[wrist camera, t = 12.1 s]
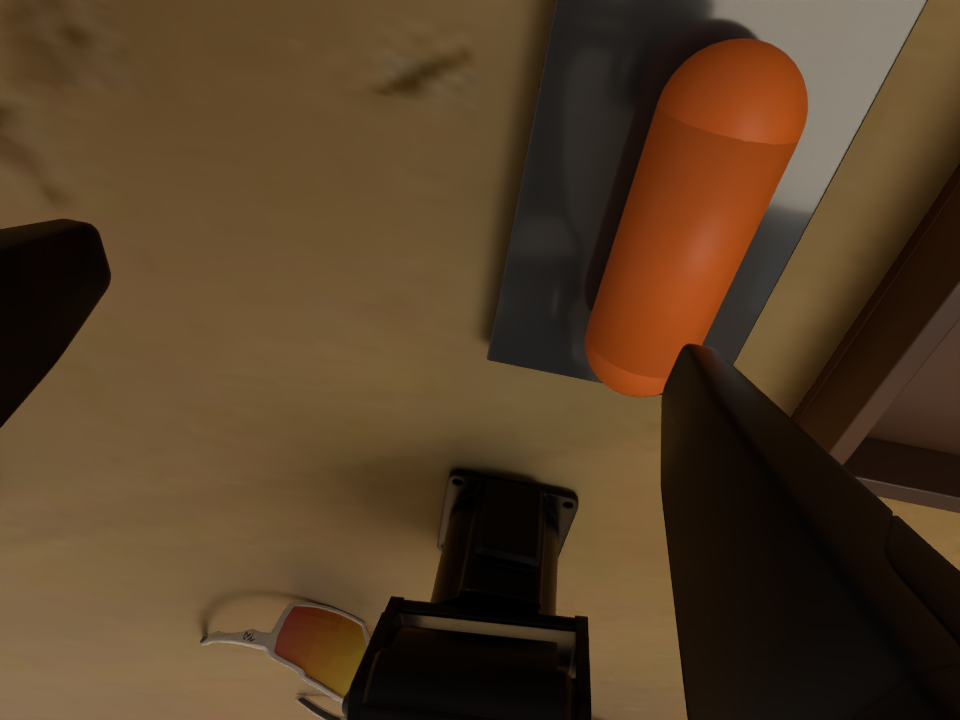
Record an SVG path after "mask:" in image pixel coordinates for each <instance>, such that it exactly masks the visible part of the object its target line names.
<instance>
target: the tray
mask: <svg viewBox="0 0 960 720" xmlns="http://www.w3.org/2000/svg"><path fill="white" fill-rule="evenodd" d="M791 419H792V420H793V421H794V422H795V423H797V424H798V425H799V426H800V427H801V428H802V429H803V430H804V431H805V432H806V433H808V434H809V435H810V436H811V437H812V438H813V439H814V440H815V441H816V442H817V443H818V444H820V445H821V446H822V447H823V448H824V449H825V450H826V451H827V452H828V453H829V454H831V455H832V456H833V457H834V458H835V459H836V460H837V461H838V462H839V463H840V464H841V465H843V466H844V467H845V468H846V469H847V470H848V471H849V472H850V473H851V474H852V475H854V476H855V477H856V478H857V479H858V480H859V481H860V482H861V483H862V484H863V485H865V486H866V487H867V488H868V489H869V490H870V491H871V492H872V493H873V494H874V495H875V496H879V497H884V498H888V499H893V500H898V501H903V502H908V503H913V504H918V505H923V506H928V507H932V508H937V509H942V510H947V511H952V512H957V513H960V165H959V167H958V168H957V170H956V171H955V173H954V174H953V176H952V178H951V179H950V181H949V182H948V184H947V185H946V187H945V188H944V190H943V191H942V193H941V194H940V196H939V197H938V199H937V200H936V202H935V203H934V205H933V206H932V208H931V209H930V211H929V212H928V214H927V215H926V217H925V218H924V220H923V221H922V223H921V224H920V226H919V227H918V229H917V230H916V232H915V233H914V235H913V236H912V238H911V239H910V241H909V242H908V244H907V245H906V247H905V248H904V250H903V251H902V253H901V254H900V256H899V257H898V259H897V260H896V262H895V263H894V265H893V266H892V268H891V269H890V271H889V272H888V274H887V275H886V277H885V278H884V280H883V281H882V283H881V284H880V286H879V287H878V289H877V290H876V292H875V293H874V295H873V296H872V298H871V299H870V301H869V302H868V304H867V305H866V307H865V308H864V310H863V311H862V313H861V314H860V316H859V317H858V319H857V320H856V322H855V323H854V325H853V326H852V328H851V329H850V331H849V332H848V334H847V336H846V337H845V339H844V340H843V342H842V343H841V345H840V346H839V348H838V349H837V351H836V352H835V354H834V355H833V357H832V358H831V360H830V361H829V363H828V364H827V366H826V367H825V369H824V370H823V372H822V373H821V375H820V376H819V378H818V379H817V381H816V382H815V384H814V385H813V387H812V388H811V390H810V391H809V393H808V394H807V396H806V397H805V399H804V400H803V402H802V403H801V405H800V406H799V408H798V409H797V411H796V412H795V414H794V415H793V417H792V418H791Z"/></svg>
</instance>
